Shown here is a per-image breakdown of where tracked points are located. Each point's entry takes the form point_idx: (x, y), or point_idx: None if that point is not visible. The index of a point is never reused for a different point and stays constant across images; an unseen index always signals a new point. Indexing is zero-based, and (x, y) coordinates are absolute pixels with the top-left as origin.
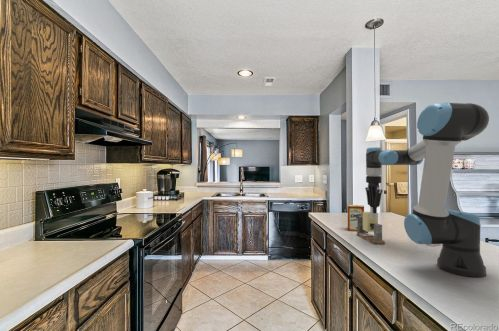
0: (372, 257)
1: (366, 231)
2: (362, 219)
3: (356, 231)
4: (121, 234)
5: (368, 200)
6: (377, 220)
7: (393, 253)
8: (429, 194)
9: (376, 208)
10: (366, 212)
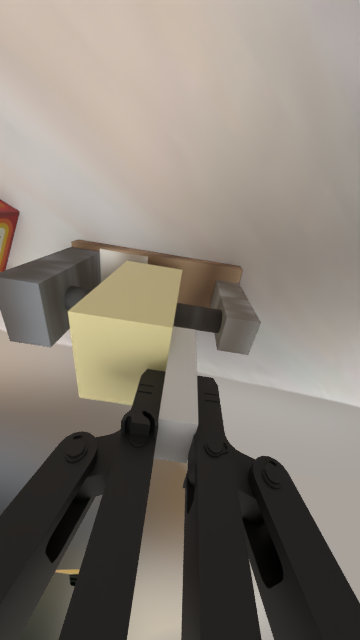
0: (323, 397)
1: (95, 265)
2: (61, 320)
3: (10, 247)
4: (77, 573)
5: (59, 562)
6: (176, 298)
7: (340, 321)
8: None
9: (222, 428)
10: (111, 389)
